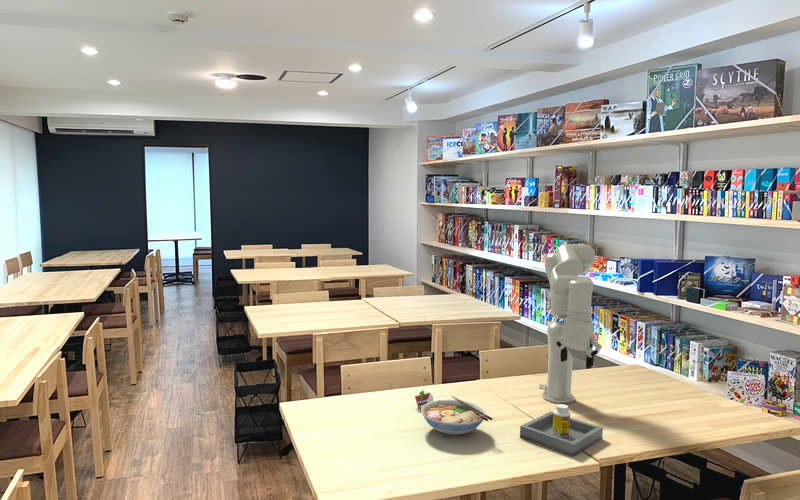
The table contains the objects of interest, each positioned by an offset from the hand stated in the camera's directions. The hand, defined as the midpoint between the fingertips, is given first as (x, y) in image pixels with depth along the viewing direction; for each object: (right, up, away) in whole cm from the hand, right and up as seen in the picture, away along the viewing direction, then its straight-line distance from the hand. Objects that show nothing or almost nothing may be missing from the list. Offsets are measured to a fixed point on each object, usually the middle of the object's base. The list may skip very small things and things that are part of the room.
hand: (576, 364), depth 201 cm
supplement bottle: (-6, -24, -2) cm, 25 cm away
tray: (-6, -25, -2) cm, 26 cm away
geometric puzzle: (-52, -22, +24) cm, 61 cm away
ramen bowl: (-43, -24, +2) cm, 49 cm away
